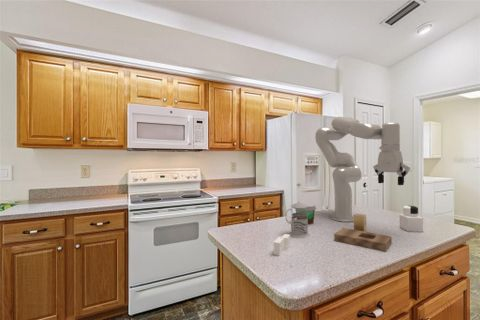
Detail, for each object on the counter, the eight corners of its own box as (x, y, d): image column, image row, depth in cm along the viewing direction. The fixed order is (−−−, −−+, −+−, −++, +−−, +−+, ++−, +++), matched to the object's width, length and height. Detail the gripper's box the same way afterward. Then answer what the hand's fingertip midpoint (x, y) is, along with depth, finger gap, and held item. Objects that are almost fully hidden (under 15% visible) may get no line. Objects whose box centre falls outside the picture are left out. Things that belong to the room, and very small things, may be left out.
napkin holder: (276, 260, 87) (276, 244, 87) (260, 249, 98) (260, 236, 98) (308, 252, 94) (307, 238, 94) (290, 243, 104) (290, 230, 104)
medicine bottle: (413, 227, 123) (413, 204, 123) (423, 232, 116) (422, 207, 115) (399, 227, 123) (399, 204, 123) (407, 231, 116) (407, 207, 116)
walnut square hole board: (334, 240, 106) (334, 233, 106) (343, 233, 114) (343, 227, 114) (385, 251, 92) (385, 243, 92) (391, 243, 101) (391, 236, 101)
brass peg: (353, 233, 115) (353, 215, 115) (356, 231, 118) (356, 213, 118) (364, 235, 112) (363, 216, 112) (366, 233, 115) (366, 214, 115)
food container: (293, 224, 133) (293, 206, 133) (294, 221, 139) (294, 204, 139) (316, 225, 130) (316, 207, 130) (316, 222, 135) (316, 205, 135)
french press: (311, 238, 109) (310, 184, 109) (285, 236, 112) (284, 184, 112) (309, 231, 119) (308, 182, 119) (285, 230, 121) (285, 182, 121)
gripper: (368, 149, 120) (368, 182, 120) (403, 147, 104) (403, 186, 104) (378, 149, 123) (379, 181, 123) (414, 147, 107) (414, 185, 107)
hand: (390, 184), depth 114 cm, fingers open, 9 cm apart
